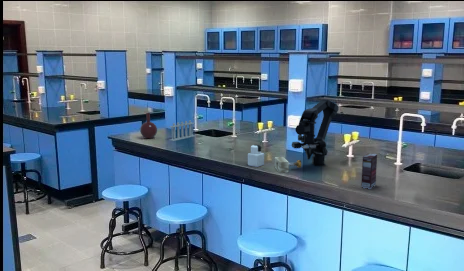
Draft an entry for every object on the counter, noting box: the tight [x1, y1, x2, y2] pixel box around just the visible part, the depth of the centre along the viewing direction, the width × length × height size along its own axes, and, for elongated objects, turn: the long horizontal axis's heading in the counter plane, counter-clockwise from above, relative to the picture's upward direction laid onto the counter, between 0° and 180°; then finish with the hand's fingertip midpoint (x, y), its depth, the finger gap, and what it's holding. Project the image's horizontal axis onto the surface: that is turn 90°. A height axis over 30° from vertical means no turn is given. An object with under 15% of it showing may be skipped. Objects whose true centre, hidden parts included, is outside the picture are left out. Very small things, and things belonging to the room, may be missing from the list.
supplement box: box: [360, 152, 378, 190], centre depth 204 cm, size 9×5×16 cm, turn 144°
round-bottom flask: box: [139, 112, 158, 139], centre depth 328 cm, size 13×13×20 cm
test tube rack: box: [168, 120, 196, 142], centre depth 328 cm, size 25×4×13 cm, turn 142°
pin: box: [289, 159, 302, 169], centre depth 237 cm, size 12×4×4 cm, turn 99°
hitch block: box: [273, 156, 290, 174], centre depth 236 cm, size 5×12×6 cm, turn 9°
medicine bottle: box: [247, 144, 265, 168], centre depth 246 cm, size 7×7×12 cm
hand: (308, 159), depth 238 cm, fingers closed
